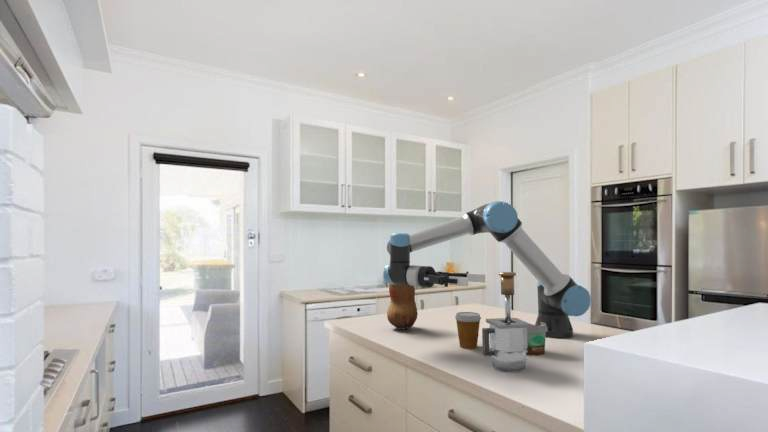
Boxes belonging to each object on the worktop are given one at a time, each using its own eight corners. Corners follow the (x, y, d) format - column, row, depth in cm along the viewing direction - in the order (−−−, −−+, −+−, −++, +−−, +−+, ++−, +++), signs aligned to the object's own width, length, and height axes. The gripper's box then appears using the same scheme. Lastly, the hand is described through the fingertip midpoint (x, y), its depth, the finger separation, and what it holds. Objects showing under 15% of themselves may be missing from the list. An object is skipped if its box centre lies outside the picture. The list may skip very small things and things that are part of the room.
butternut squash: (382, 327, 187) (381, 271, 189) (407, 324, 194) (406, 270, 195) (398, 333, 175) (397, 274, 176) (424, 330, 182) (423, 272, 183)
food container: (530, 358, 140) (530, 328, 140) (516, 353, 145) (516, 324, 145) (556, 353, 145) (555, 324, 146) (542, 349, 151) (541, 321, 151)
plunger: (513, 325, 136) (512, 271, 137) (525, 330, 128) (524, 273, 129) (491, 326, 135) (490, 271, 135) (502, 331, 127) (501, 273, 128)
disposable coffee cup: (481, 350, 149) (481, 316, 150) (454, 349, 151) (454, 315, 152) (481, 343, 159) (480, 312, 159) (455, 342, 160) (455, 311, 161)
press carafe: (516, 360, 137) (515, 317, 137) (532, 371, 126) (531, 324, 127) (477, 363, 135) (477, 319, 135) (490, 373, 124) (490, 325, 125)
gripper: (438, 283, 161) (491, 287, 149) (402, 290, 141) (459, 295, 129) (438, 264, 162) (491, 266, 149) (402, 267, 142) (459, 271, 129)
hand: (476, 280), depth 139 cm, fingers open, 13 cm apart
